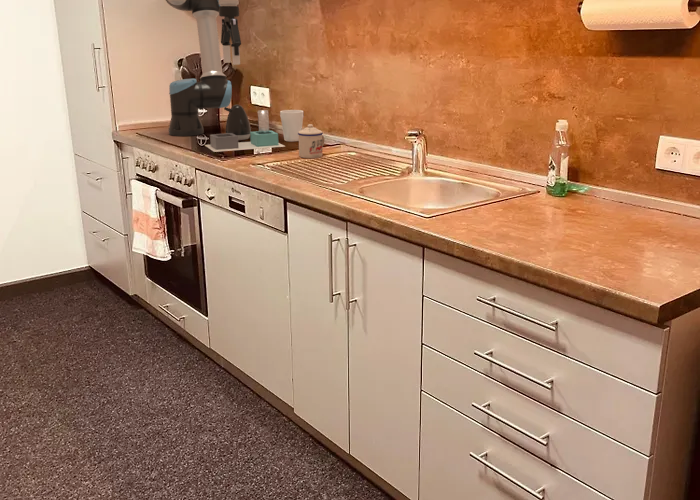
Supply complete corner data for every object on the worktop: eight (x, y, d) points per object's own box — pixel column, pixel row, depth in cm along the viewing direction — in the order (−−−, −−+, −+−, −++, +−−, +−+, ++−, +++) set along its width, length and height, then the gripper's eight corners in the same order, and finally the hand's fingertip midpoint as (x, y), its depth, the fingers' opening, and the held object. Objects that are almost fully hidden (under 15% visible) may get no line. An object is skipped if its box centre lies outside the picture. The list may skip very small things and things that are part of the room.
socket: (250, 143, 274) (250, 131, 273) (271, 141, 278) (271, 130, 276) (257, 146, 267) (256, 135, 266) (278, 145, 270) (278, 133, 269)
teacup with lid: (311, 159, 250) (311, 127, 247) (293, 156, 256) (292, 124, 252) (333, 154, 259) (332, 123, 256) (314, 152, 265) (314, 121, 261)
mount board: (204, 148, 271) (203, 133, 269) (272, 143, 282) (272, 128, 280) (214, 155, 257) (213, 139, 255) (285, 150, 268) (285, 134, 266)
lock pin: (258, 143, 273) (256, 110, 269) (267, 143, 275) (266, 109, 271) (261, 145, 270) (259, 111, 265) (271, 144, 271) (269, 110, 267)
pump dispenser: (222, 141, 289) (220, 104, 284) (247, 139, 293) (245, 102, 288) (229, 144, 280) (227, 106, 275) (254, 143, 284) (252, 105, 279)
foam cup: (282, 146, 277) (281, 113, 273) (279, 142, 286) (278, 110, 282) (306, 145, 279) (305, 112, 275) (302, 141, 288) (301, 109, 284)
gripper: (210, 6, 272) (214, 62, 278) (227, 4, 250) (230, 65, 257) (229, 6, 275) (232, 61, 281) (247, 5, 253) (250, 65, 260)
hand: (231, 63), depth 269 cm, fingers open, 13 cm apart
